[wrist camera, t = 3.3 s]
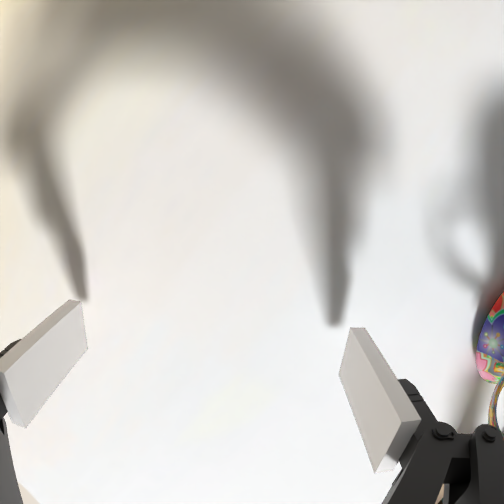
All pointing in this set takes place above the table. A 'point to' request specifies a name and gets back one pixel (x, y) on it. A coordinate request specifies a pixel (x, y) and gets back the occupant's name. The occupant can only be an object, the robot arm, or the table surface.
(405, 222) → the table surface
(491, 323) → the mug
